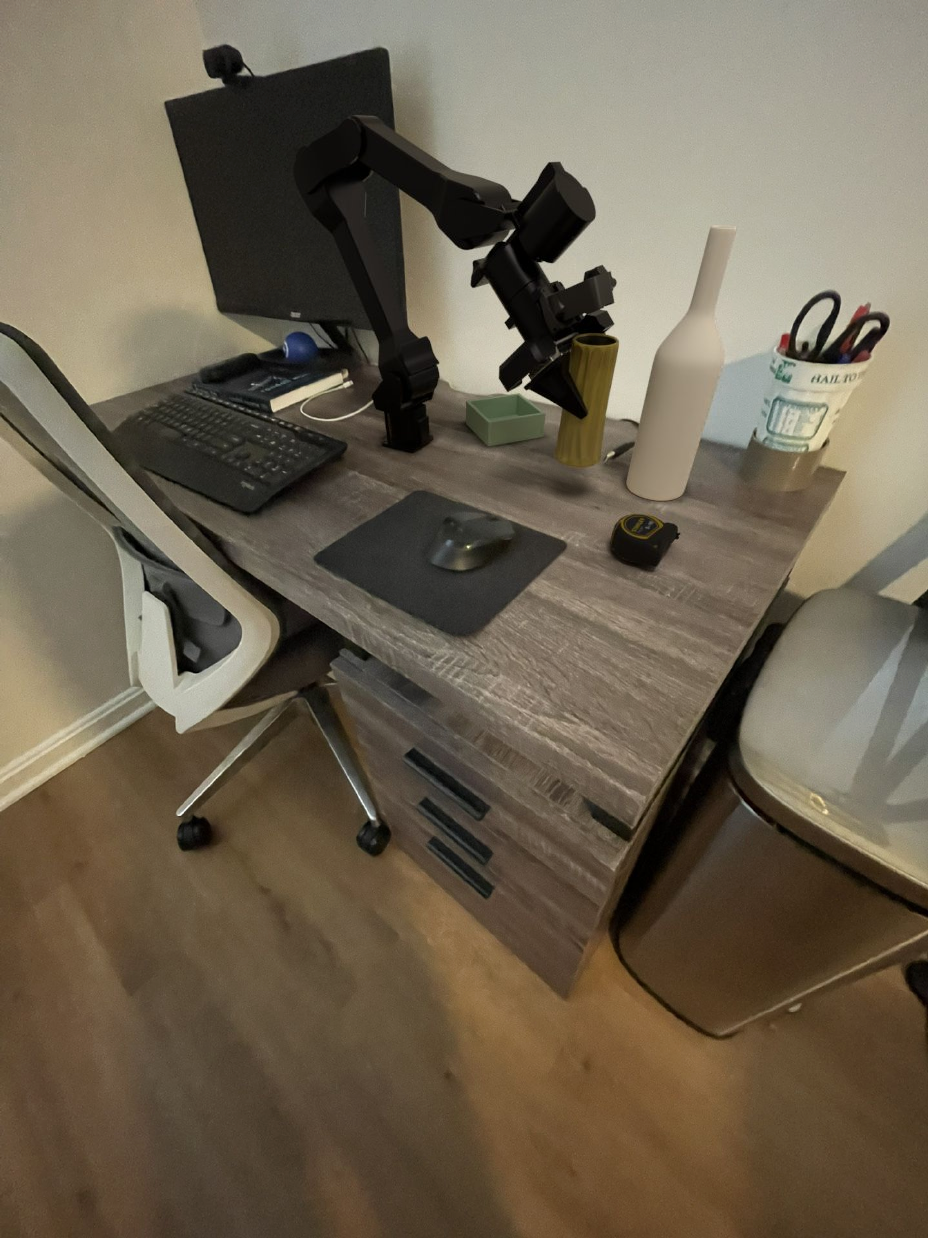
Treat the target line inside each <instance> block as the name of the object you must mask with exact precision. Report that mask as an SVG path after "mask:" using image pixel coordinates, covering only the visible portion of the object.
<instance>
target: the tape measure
mask: <svg viewBox="0 0 928 1238" xmlns="http://www.w3.org/2000/svg"><path fill="white" fill-rule="evenodd" d="M611 532H612V533H611V538H610V543H611V544H610V546H611V549H612V550H613V552H614V553H615V554H616V555H617V556H618V557H620V558H621V559H623V560H624V561H626V562H629V563H633V564H634V563H635V564H639V565H643V566H646V567H653V568H654V567H657V566H658V565H659V564H660V563H661V561H662V559H663V557H664V555H665V554H666V553H667V551H668V550H669V549H670V548H671V546H672V544H673V543H674V542H675V540H679V539H680V536H681V534H682V533H681V532H679V527H678V526H677V524H675V523H673V522H668V521H667V522H664V521H662V520H661V519H659V518H658V517H656V516H653V515H649V514H644V513H631V514H627V515H624V516H622V517H621V518H619V520H618V521H616V523H615V524H614V526H613V529H612V531H611Z"/></svg>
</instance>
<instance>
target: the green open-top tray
mask: <svg viewBox="0 0 928 1238" xmlns="http://www.w3.org/2000/svg"><path fill="white" fill-rule="evenodd" d="M465 425H467V426H468V428H469V429H470V430H471V431H472V432H473V433H474V434H475V435H476V436H477V437H478V438H479V439H480V440H481V441H482V442H483V443H484V444H485V445H486V446H487V447H494V446H500V445H505V444H512V443H518V442H523V441H528V440H535V439H540V438H544V436H545V425H546V412H544V411H543V409H540V408H539V407H538V406H537V405H536V404H535V403H533V402H531V401H530V400H529V399H528V398H526V397H525V396H523V394H522V393H519V392H517V393H510V394H504V395H498V396H490V397H484V398H477V399H470V400H466V401H465Z"/></svg>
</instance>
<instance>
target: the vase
mask: <svg viewBox="0 0 928 1238" xmlns="http://www.w3.org/2000/svg"><path fill="white" fill-rule="evenodd" d="M619 349H620V340H619V339H618V338H617V337H615V336H613V335H610V334H597V333H588V334H580V335H577V336H575V337H574V338H573V340H572V347H571V354H570V364H569V372H570V374H571V376H572V378H573V381H574V383H575V385H576V387H577V389H578V391H579V393H580V395H581V397H582V399H583V401H584V404H585V406H586V409H587V411H588V415H587V416H586V417H585V418H583V419H579V418H577V417H576V416H574V415H572V414H571V413H569V412H568V411H566V410H564V409H563V408H561V416H560V421H559V427H558V433H557V438H556V439H557V440H556V445H555V448H554V452H553V457H554V458H555V460H556V461H557V462H559V463H560V464H562V465H565V466H567V467H572V468H589V467H592V466H595V465H597V464H598V463H599V462H600V461H601V459H602V448H603V441H604V432H605V426H606V417H607V411H608V406H609V401H610V395H611V390H612V384H613V380H614V375H615V369H616V364H617V359H618V353H619Z"/></svg>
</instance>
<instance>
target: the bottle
mask: <svg viewBox="0 0 928 1238" xmlns="http://www.w3.org/2000/svg"><path fill="white" fill-rule="evenodd" d="M737 228H738V227H737V226H736V225H729V224H715V225H711V226H710V228H709V231H708V235H707V238H706V242H705V247H704V251H703V254H702V258H701V262H700V266H699V270H698V275H697V278H696V282H695V286H694V289H693V294H692V297H691V301H690V304H689V307H688V310H687V312H686V313H685V314H684V315H683V317H682V318H681V319H680V321H678V323H677V324H676V325H675V326H674V327H673V328H672V329H671V331H670V332H669V333H668V334H667V336H666V337H665V339H664V340H663V341H662V342H661V344H660V345H659V346H658V348H657V349H656V351H655V354H654V357H653V361H652V365H651V368H650V372H649V378H648V383H647V387H646V391H645V396H644V401H643V405H642V410H641V414H640V420H639V423H638V427H637V432H636V437H635V442H634V446H633V450H632V455H631V460H630V463H629V468H628V472H627V477H626V482H625V483H626V488H627V489H628V491H630V492H631V493H632V494H634V495H635V496H637V497H640V498H642V499H646V500H649V501H650V500H651V501H658V502H664V501H665V502H666V501H667V502H668V501H672V500H677V499H678V498H680V497H681V496H682V495H683V494H684V493H685V491H686V487H687V484H688V481H689V477H690V475H691V471H692V468H693V464H694V461H695V458H696V455H697V452H698V449H699V445H700V442H701V439H702V436H703V432H704V429H705V426H706V423H707V420H708V416H709V413H710V410H711V407H712V405H713V404H712V403H713V400H714V397H715V394H716V391H717V388H718V385H719V381H720V378H721V375H722V371H723V367H724V363H725V350H724V345H723V341H722V337H721V334H720V333H721V332H720V330H719V327H718V324H717V323H718V322H717V318H716V306H717V302H718V298H719V295H720V291H721V289H722V285H723V284H722V283H723V281H724V277H725V273H726V269H727V266H728V262H729V259H730V256H731V251H732V248H733V244H734V241H735V236H736V233H737Z"/></svg>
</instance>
